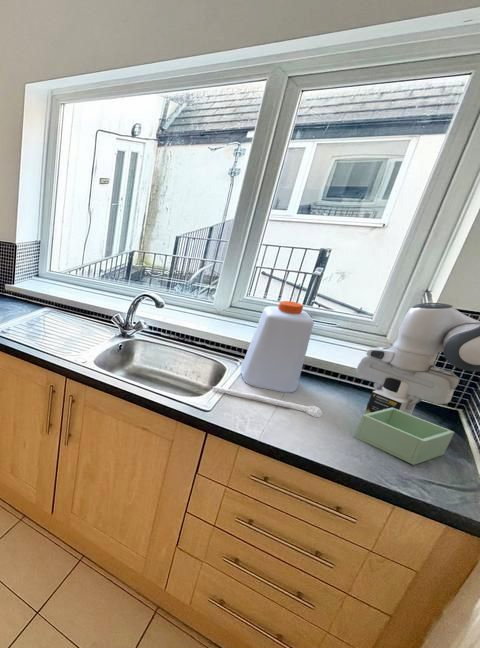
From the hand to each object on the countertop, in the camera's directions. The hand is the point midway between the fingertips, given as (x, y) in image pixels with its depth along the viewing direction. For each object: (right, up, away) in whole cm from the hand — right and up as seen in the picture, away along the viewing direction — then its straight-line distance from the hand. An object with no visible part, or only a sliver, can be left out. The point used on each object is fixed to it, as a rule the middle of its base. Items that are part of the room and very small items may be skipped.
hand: (392, 403), depth 121 cm
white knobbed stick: (-32, -1, +8) cm, 33 cm away
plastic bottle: (-21, +4, +22) cm, 31 cm away
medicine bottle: (0, -4, +2) cm, 4 cm away
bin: (-11, -9, -12) cm, 19 cm away
